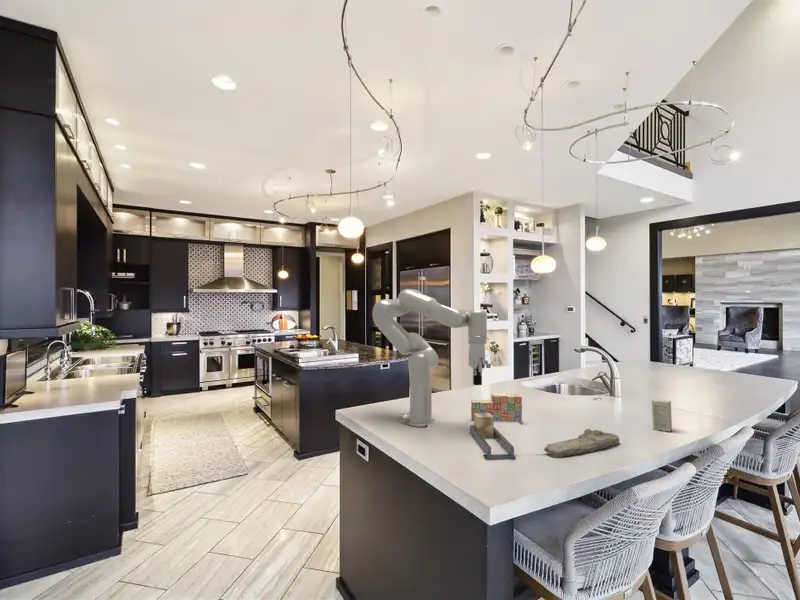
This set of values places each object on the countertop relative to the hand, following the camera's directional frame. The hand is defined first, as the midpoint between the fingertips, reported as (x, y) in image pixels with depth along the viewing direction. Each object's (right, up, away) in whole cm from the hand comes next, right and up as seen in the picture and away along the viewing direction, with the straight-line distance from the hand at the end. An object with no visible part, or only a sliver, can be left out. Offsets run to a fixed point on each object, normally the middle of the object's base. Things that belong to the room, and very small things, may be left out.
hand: (477, 384), depth 169 cm
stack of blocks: (+11, -20, +13) cm, 26 cm away
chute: (+1, -19, -18) cm, 26 cm away
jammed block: (+1, -18, -10) cm, 20 cm away
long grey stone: (+34, -19, -20) cm, 44 cm away
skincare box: (+77, -19, +2) cm, 79 cm away
